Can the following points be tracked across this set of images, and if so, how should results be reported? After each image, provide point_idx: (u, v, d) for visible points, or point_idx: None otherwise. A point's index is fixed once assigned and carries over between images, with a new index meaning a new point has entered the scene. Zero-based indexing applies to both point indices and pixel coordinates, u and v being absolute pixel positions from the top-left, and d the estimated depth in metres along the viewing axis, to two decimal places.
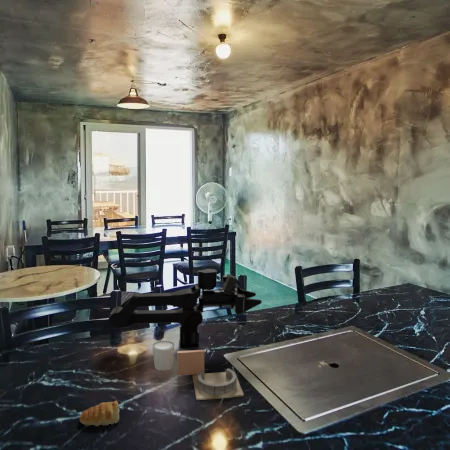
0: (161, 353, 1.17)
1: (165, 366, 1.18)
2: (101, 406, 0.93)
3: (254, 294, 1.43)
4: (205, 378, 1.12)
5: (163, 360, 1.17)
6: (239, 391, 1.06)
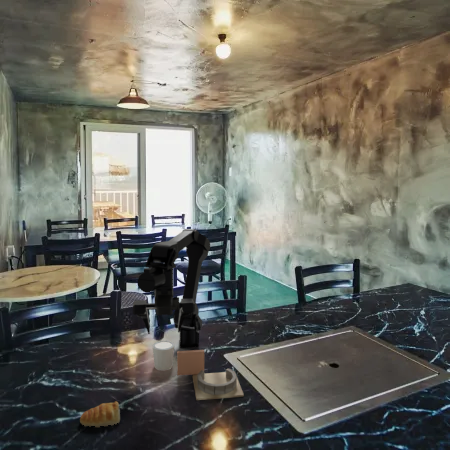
0: (161, 353, 1.17)
1: (165, 366, 1.18)
2: (102, 407, 0.93)
3: (178, 330, 1.20)
4: (205, 378, 1.12)
5: (163, 360, 1.17)
6: (239, 391, 1.06)
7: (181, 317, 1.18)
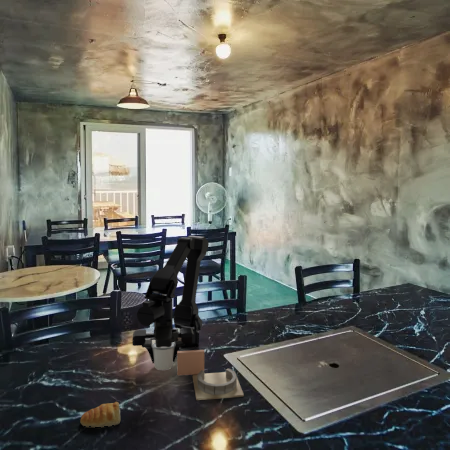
0: (161, 353, 1.17)
1: (165, 366, 1.18)
2: (102, 407, 0.92)
3: (173, 360, 1.21)
4: (205, 378, 1.12)
5: (163, 360, 1.17)
6: (239, 391, 1.06)
7: (176, 347, 1.19)
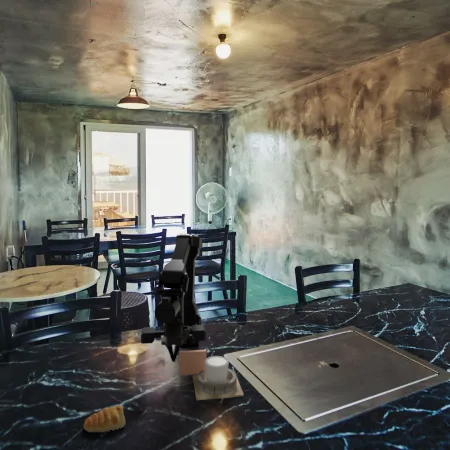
0: (216, 370, 1.05)
1: None
2: (106, 411, 0.91)
3: None
4: (205, 378, 1.12)
5: (218, 378, 1.06)
6: (239, 391, 1.06)
7: (176, 346, 1.11)
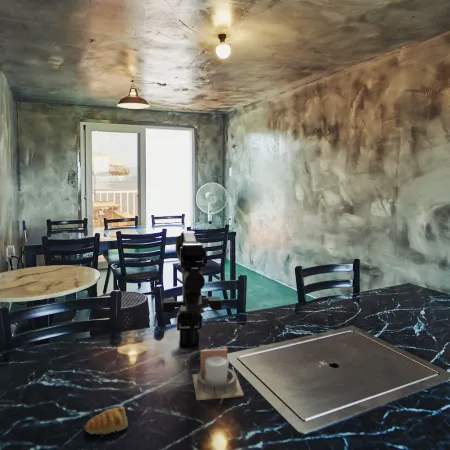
0: (216, 370, 1.05)
1: None
2: (108, 413, 0.90)
3: None
4: (205, 378, 1.12)
5: (218, 378, 1.06)
6: (239, 391, 1.06)
7: (195, 315, 1.20)
